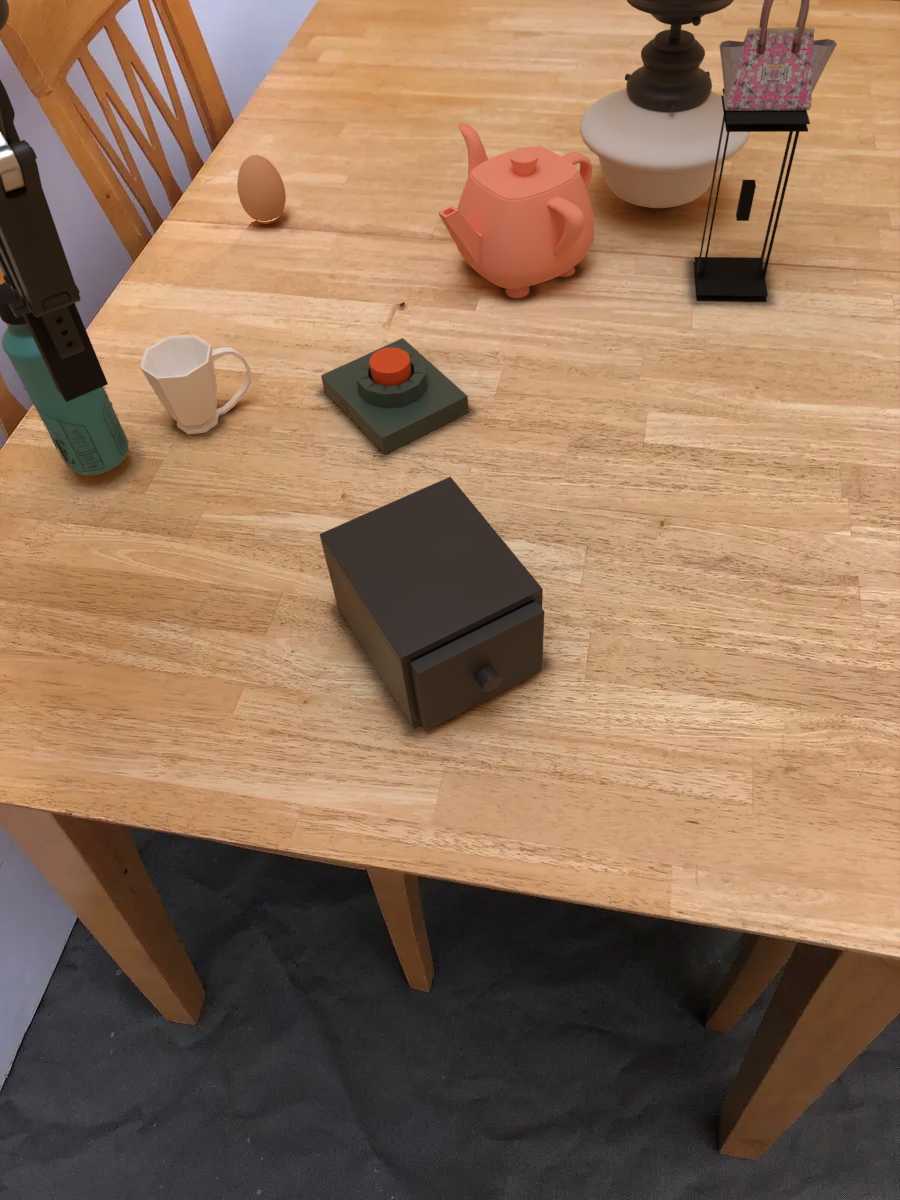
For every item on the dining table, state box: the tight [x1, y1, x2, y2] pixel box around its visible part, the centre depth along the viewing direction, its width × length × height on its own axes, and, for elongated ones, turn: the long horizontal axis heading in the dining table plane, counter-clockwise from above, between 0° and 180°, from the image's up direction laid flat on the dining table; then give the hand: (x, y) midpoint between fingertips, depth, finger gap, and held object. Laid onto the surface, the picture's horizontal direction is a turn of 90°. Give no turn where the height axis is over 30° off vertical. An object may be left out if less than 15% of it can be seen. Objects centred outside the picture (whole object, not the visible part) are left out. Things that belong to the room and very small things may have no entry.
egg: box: [236, 154, 287, 225], centre depth 114 cm, size 6×6×8 cm
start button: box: [369, 347, 411, 386], centre depth 91 cm, size 4×4×2 cm
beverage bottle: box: [0, 281, 130, 476], centre depth 83 cm, size 6×7×20 cm
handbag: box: [693, 0, 838, 303], centre depth 92 cm, size 10×8×30 cm
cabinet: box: [319, 476, 544, 729], centre depth 72 cm, size 14×12×10 cm
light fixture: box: [579, 0, 751, 209], centre depth 105 cm, size 20×20×25 cm
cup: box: [139, 334, 253, 435], centre depth 92 cm, size 7×10×8 cm
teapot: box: [438, 122, 595, 299], centre depth 103 cm, size 16×17×14 cm
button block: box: [320, 337, 469, 455], centre depth 93 cm, size 12×10×4 cm
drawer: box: [410, 601, 545, 732], centre depth 71 cm, size 14×10×8 cm
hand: (82, 386), depth 57 cm, fingers closed
